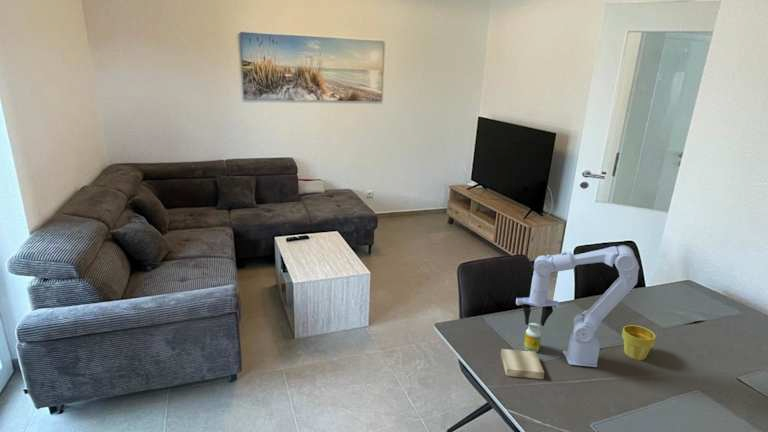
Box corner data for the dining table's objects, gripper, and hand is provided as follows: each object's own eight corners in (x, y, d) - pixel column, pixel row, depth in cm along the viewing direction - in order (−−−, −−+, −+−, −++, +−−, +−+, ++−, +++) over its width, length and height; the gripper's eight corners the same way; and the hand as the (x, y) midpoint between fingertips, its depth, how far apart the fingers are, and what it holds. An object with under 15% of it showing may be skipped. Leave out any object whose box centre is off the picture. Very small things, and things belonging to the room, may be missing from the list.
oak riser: (534, 359, 158) (535, 351, 157) (543, 380, 146) (544, 372, 145) (500, 356, 159) (501, 348, 158) (506, 377, 147) (507, 369, 146)
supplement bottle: (530, 343, 167) (533, 320, 164) (542, 350, 163) (545, 326, 160) (520, 347, 164) (523, 324, 161) (532, 354, 160) (536, 330, 157)
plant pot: (614, 355, 161) (619, 331, 159) (623, 344, 169) (627, 321, 166) (646, 368, 155) (652, 343, 152) (653, 356, 162) (659, 332, 159)
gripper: (557, 286, 160) (552, 320, 163) (516, 283, 161) (511, 316, 165) (563, 294, 153) (557, 329, 157) (520, 291, 154) (515, 326, 158)
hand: (534, 323), depth 160 cm, fingers open, 5 cm apart
